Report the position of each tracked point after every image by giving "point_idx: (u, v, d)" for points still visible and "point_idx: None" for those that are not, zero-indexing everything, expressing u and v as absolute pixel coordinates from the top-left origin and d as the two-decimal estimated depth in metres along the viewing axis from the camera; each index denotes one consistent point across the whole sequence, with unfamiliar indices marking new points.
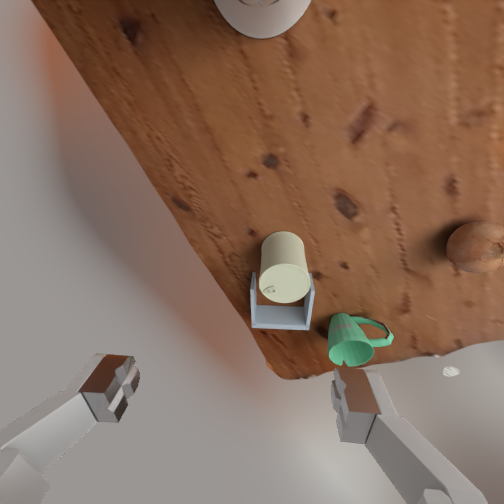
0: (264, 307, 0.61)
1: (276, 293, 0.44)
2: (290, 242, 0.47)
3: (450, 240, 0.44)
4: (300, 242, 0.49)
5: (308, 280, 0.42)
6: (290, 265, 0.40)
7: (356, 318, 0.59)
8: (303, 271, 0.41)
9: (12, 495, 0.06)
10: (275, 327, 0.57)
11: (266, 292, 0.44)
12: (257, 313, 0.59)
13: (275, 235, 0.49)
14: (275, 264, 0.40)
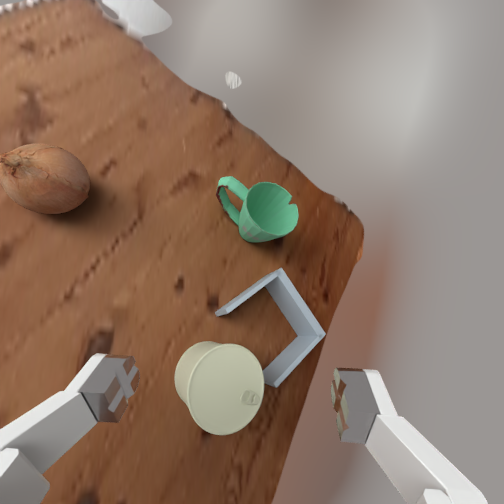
0: (294, 326, 0.44)
1: (249, 382, 0.28)
2: (180, 391, 0.32)
3: (62, 211, 0.33)
4: (178, 367, 0.35)
5: (200, 362, 0.27)
6: (192, 410, 0.25)
7: (235, 219, 0.46)
8: (190, 383, 0.26)
9: (12, 495, 0.06)
10: (305, 307, 0.41)
11: (256, 398, 0.28)
12: (305, 334, 0.43)
13: None
14: (205, 430, 0.25)
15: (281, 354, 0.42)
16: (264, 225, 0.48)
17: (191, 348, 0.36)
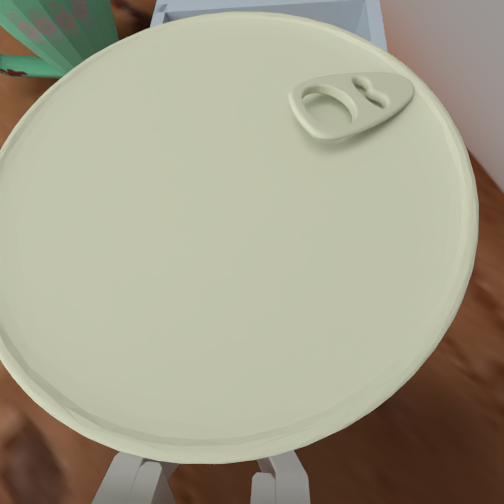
0: None
1: (287, 80, 0.05)
2: None
3: None
4: None
5: None
6: (110, 431, 0.03)
7: (45, 71, 0.21)
8: None
9: None
10: None
11: (383, 81, 0.05)
12: None
13: None
14: (304, 445, 0.03)
15: None
16: None
17: None
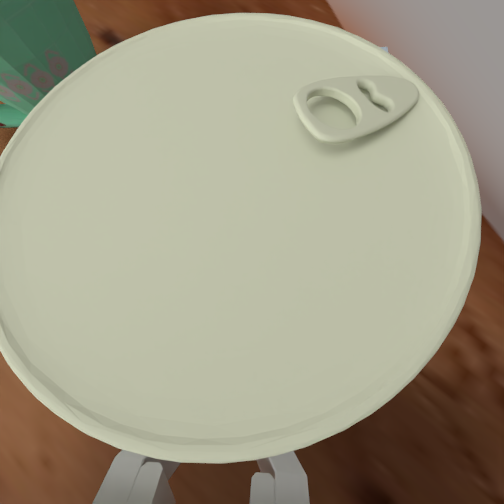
0: None
1: (292, 82, 0.05)
2: None
3: None
4: None
5: None
6: (109, 428, 0.03)
7: None
8: (0, 316, 0.04)
9: None
10: None
11: (388, 85, 0.05)
12: None
13: None
14: (302, 447, 0.03)
15: None
16: None
17: None
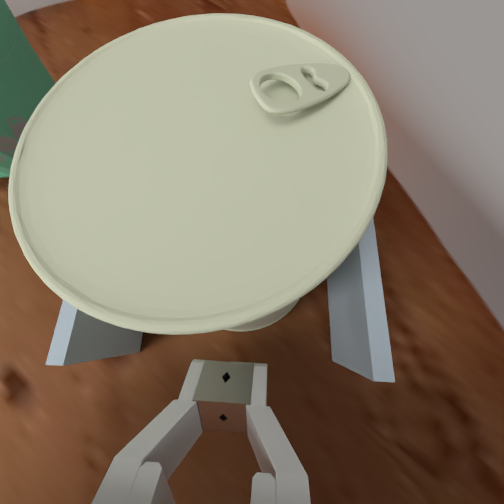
0: None
1: (253, 70, 0.06)
2: None
3: None
4: None
5: (19, 169, 0.06)
6: (116, 314, 0.05)
7: None
8: (31, 247, 0.05)
9: None
10: None
11: (325, 71, 0.06)
12: None
13: (262, 325, 0.14)
14: (250, 321, 0.04)
15: None
16: None
17: None
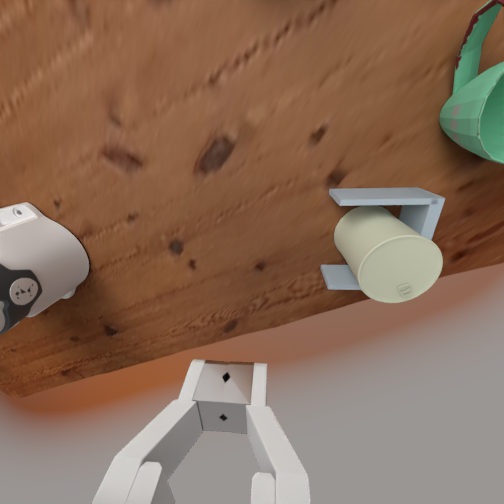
0: None
1: (415, 282, 0.28)
2: (344, 234, 0.34)
3: None
4: (353, 214, 0.35)
5: (399, 238, 0.26)
6: (362, 264, 0.27)
7: (458, 81, 0.27)
8: (378, 246, 0.26)
9: None
10: None
11: (408, 295, 0.29)
12: None
13: (337, 245, 0.38)
14: (358, 282, 0.29)
15: None
16: (491, 116, 0.28)
17: (373, 207, 0.35)
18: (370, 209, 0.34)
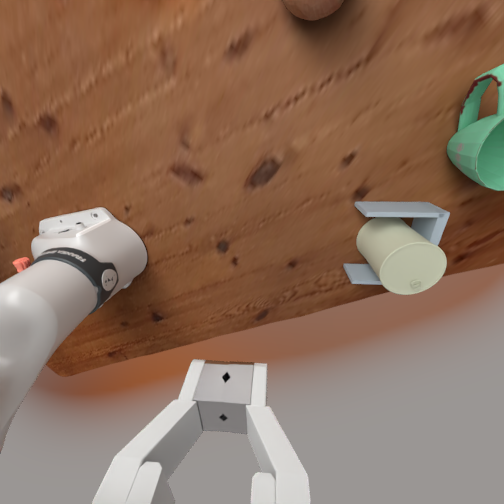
0: None
1: (424, 278, 0.36)
2: (367, 239, 0.42)
3: (306, 19, 0.30)
4: (374, 222, 0.43)
5: (413, 244, 0.33)
6: (384, 263, 0.35)
7: (462, 122, 0.35)
8: (397, 250, 0.34)
9: None
10: None
11: (418, 289, 0.37)
12: None
13: (359, 247, 0.46)
14: (379, 277, 0.36)
15: None
16: (487, 149, 0.36)
17: (391, 217, 0.43)
18: (388, 219, 0.42)
